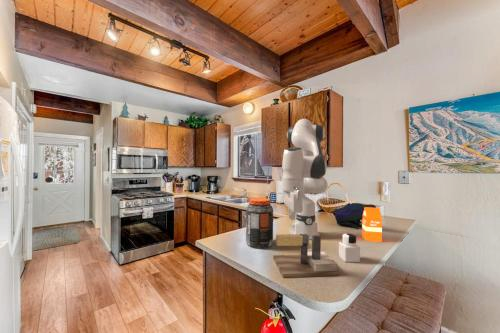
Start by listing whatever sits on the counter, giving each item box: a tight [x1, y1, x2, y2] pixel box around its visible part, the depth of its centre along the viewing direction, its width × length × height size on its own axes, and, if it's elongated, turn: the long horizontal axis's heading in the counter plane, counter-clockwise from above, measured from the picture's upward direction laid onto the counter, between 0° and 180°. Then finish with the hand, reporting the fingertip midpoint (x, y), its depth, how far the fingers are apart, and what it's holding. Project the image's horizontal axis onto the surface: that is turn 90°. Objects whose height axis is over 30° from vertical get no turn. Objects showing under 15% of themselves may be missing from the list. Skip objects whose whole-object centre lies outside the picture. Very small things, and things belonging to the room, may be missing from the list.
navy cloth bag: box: [332, 202, 377, 230], centre depth 162 cm, size 21×26×30 cm
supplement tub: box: [245, 197, 274, 249], centre depth 124 cm, size 16×16×26 cm
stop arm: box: [275, 233, 310, 247], centre depth 96 cm, size 14×4×4 cm, turn 96°
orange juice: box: [361, 207, 383, 243], centre depth 135 cm, size 8×9×20 cm
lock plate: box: [272, 235, 341, 279], centre depth 96 cm, size 18×24×14 cm
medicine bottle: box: [338, 232, 361, 263], centre depth 105 cm, size 7×7×12 cm
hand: (292, 219), depth 89 cm, fingers closed
